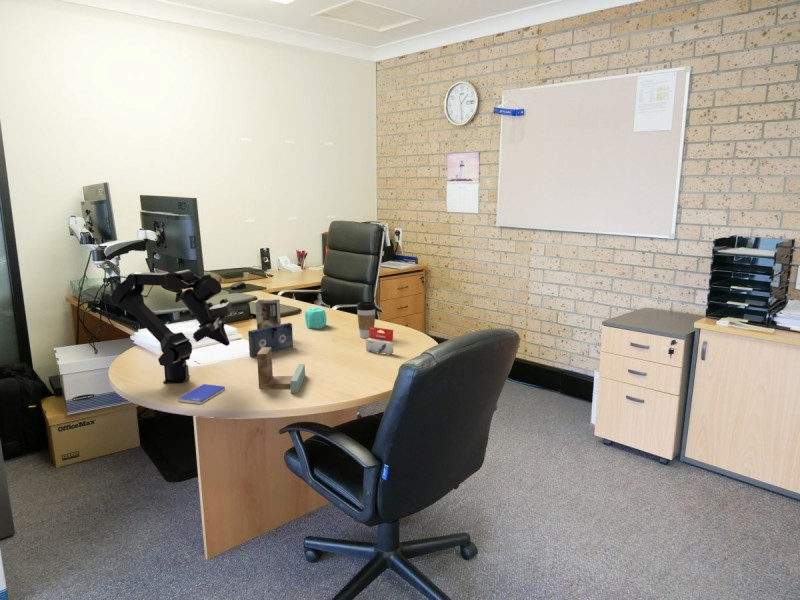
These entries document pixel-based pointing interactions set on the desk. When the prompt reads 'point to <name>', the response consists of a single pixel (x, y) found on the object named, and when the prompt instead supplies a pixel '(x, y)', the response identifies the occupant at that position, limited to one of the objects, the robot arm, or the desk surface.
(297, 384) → the board
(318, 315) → the decorative dice
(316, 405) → the desk surface
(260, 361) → the bookend
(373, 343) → the ink cartridge box
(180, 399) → the hard drive
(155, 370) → the desk surface
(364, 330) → the coffee cup
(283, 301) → the desk surface
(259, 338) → the vhs cassette tape
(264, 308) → the coffee box
